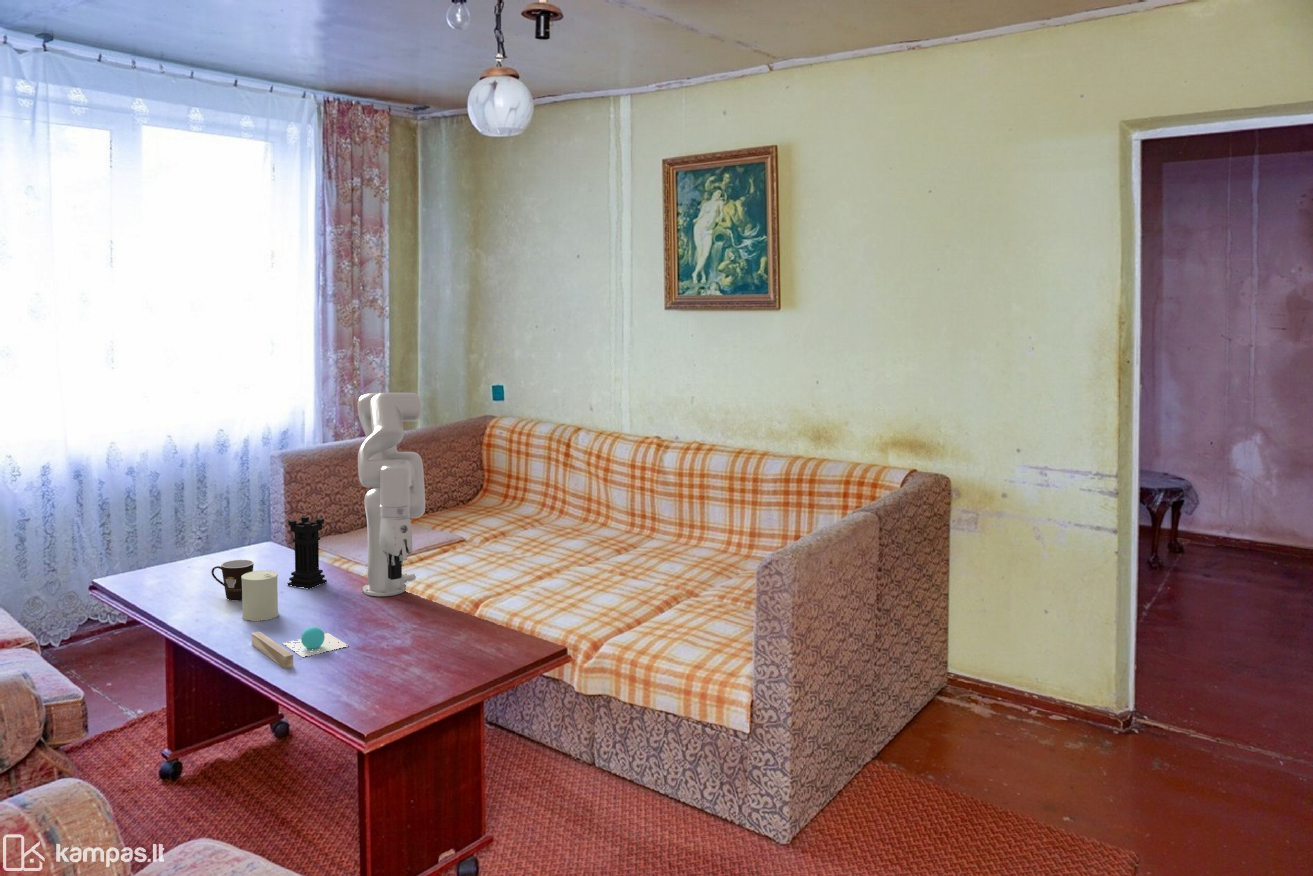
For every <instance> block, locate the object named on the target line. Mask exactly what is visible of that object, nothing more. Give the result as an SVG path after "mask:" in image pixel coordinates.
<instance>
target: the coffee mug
mask: <svg viewBox="0 0 1313 876" xmlns="http://www.w3.org/2000/svg"><path fill="white" fill-rule="evenodd" d="M254 564H255V562H254V561H253V560H250V559H232V560H228V561H224V562H222V563H220V566H219V565H217V566H214V567H213V568H212V569H211V575H212V577H213V579H214V580H215V581H216V582H218V584H220V585H222V586H223V587H224V592H225V597H226V598H227V599H229V600H228V601H232V600H238V601H242V578H241V576H242V575H243V574H245V573H249V572H253V571H254ZM216 569H219V570H221V572H222V573H221V574H222V578H223V581H222V580H220V579H218V578H217V576H216V575H215V573H214V572H215V570H216ZM226 598H225V599H226ZM227 599H226V600H227Z"/></svg>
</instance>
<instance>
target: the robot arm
mask: <svg viewBox="0 0 1313 876" xmlns="http://www.w3.org/2000/svg"><path fill="white" fill-rule="evenodd" d="M357 414H358V418H359V422H360V424H361V427H362V429H363V430H362V431H363V432H364V434H365V438H366V439H365V440H364V441H363V442H362V444H361V446H360V447H359V450H358V454H357V472H358V479H359V482H360V484H361V485H362V486H363V487H364V488H368V489H369V488H370V490H368V491H367V492H366V493H365V496H364V501H363V502H364V510H365V516H366V526H367V529H366V530H367V584H365V585H364V586H362V593H364V594H365V595H367V596H371V597H393V596H396V595H400V594H402V593H404V592H405V591H406V590H407V585H406V583H407V582H412V581H415V580H416V575H415V573H411V574H407V573H403V572H402V571H403V563H404V561H407V560H408V556H407V554H408V555H411V554H412V553H413V550H414V549H413V533H412V532H413V531H412V523H411V519H417V518H418V519H419V518H420V517H422V516H423V515H424V514H425V510H426V492H425V491H426V490H425V477H424V476H425V473H424V463H423V460H422V457H421V455H420V454H419V453H417V452H415V451H398V448H397V446H398V445H399V444H400V443H401V442H402V440H403V438H404V437H405V436H404V435H405V433H404V432H405V431H404V425H403V422H419V421H420V420H421V418H422V415H423V403H422V399H421V397H420V396H419V394H417V393H416V392H371V393H370V392H369V393H365V394H362V395H360V397H359V398H358V400H357Z"/></svg>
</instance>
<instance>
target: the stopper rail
mask: <svg viewBox="0 0 1313 876" xmlns="http://www.w3.org/2000/svg"><path fill="white" fill-rule="evenodd" d="M251 646H253V647H254V648H256V650H258V649H259V650H258V651H260V652H261V653H262V654H264V655H265V656H267V657H268V658H270V660H272V661H274V662H275V663H276V664H278V665H279V666H280V665H281V667H282V668H283V669H286V670H287V669H289V668H294V654H293V653H291V652H290V651H289V650H287V649H286V648H284V647H283V646H282V645H280V644H279V643H277V642H276V641H274V640H272V638H270V637H268V636H266V635H265V634H264V633H263V632H261V631H255V632H251Z"/></svg>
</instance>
